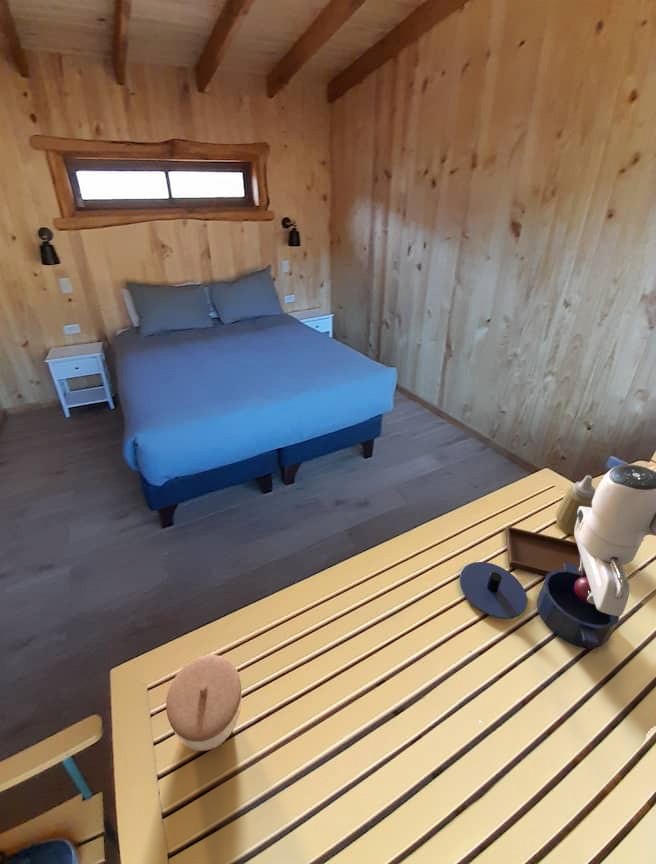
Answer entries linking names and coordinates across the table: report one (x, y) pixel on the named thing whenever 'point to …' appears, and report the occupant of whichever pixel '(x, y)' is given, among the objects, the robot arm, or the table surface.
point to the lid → (493, 590)
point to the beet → (582, 589)
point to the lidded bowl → (204, 702)
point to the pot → (572, 611)
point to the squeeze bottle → (574, 504)
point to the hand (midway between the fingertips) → (587, 587)
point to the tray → (539, 552)
